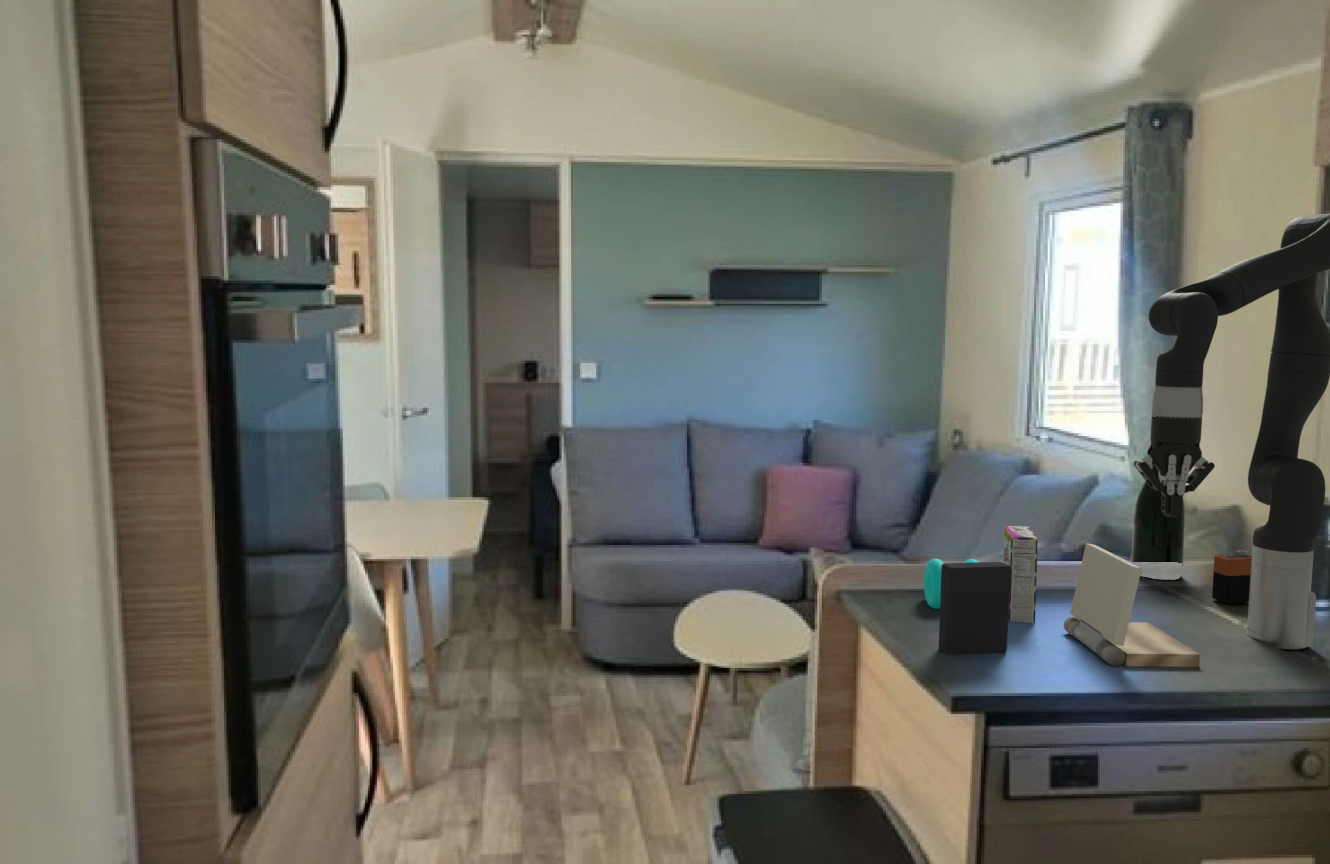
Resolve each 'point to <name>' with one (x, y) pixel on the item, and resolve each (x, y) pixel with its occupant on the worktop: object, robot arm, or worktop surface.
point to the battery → (1232, 577)
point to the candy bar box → (1021, 572)
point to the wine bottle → (1156, 529)
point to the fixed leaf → (1143, 647)
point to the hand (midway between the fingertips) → (1170, 516)
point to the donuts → (935, 581)
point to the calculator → (974, 607)
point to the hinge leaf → (1104, 597)
